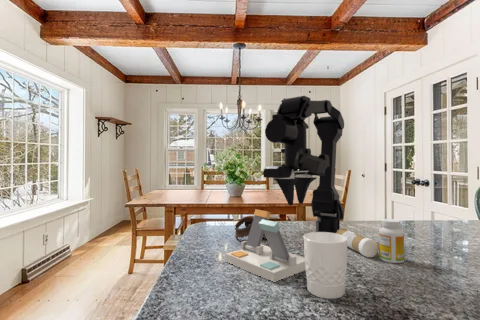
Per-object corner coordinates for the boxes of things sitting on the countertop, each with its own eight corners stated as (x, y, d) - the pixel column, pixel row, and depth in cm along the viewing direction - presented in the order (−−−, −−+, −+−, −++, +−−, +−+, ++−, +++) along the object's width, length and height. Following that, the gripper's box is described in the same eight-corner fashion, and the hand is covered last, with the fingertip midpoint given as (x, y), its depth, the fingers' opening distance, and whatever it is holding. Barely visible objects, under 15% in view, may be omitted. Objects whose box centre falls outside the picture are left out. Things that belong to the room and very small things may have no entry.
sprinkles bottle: (351, 234, 84) (382, 247, 71) (342, 246, 83) (371, 261, 70) (341, 224, 83) (370, 235, 70) (331, 236, 83) (359, 250, 70)
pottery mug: (272, 243, 85) (260, 222, 83) (244, 257, 85) (232, 236, 83) (264, 225, 96) (254, 205, 94) (239, 237, 97) (229, 218, 94)
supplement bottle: (401, 257, 70) (401, 218, 70) (406, 265, 65) (405, 223, 65) (378, 255, 72) (377, 217, 72) (380, 262, 67) (380, 221, 67)
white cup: (314, 278, 58) (314, 230, 58) (354, 289, 53) (353, 235, 53) (296, 292, 52) (295, 237, 52) (339, 305, 47) (338, 245, 47)
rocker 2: (277, 255, 64) (262, 219, 61) (292, 260, 61) (277, 222, 58) (274, 259, 63) (258, 223, 60) (289, 265, 60) (273, 226, 57)
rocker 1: (247, 249, 72) (259, 210, 74) (259, 253, 68) (271, 213, 71) (243, 247, 71) (255, 209, 74) (255, 251, 67) (267, 211, 70)
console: (260, 251, 76) (260, 237, 76) (311, 268, 63) (310, 251, 63) (224, 261, 68) (224, 245, 68) (274, 283, 56) (274, 264, 56)
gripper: (297, 141, 61) (298, 212, 61) (342, 144, 74) (343, 204, 73) (261, 144, 70) (262, 206, 70) (307, 146, 82) (307, 200, 82)
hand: (295, 204), depth 73 cm, fingers open, 4 cm apart
